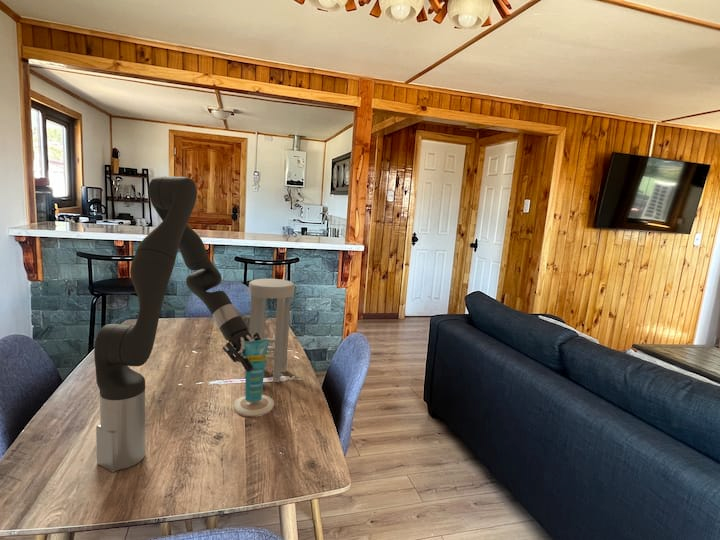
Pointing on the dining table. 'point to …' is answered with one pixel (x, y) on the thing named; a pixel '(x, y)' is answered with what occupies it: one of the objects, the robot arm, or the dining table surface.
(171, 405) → the dining table surface
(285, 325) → the stool
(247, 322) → the mineral rock
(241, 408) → the coaster
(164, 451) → the dining table surface
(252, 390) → the tube
